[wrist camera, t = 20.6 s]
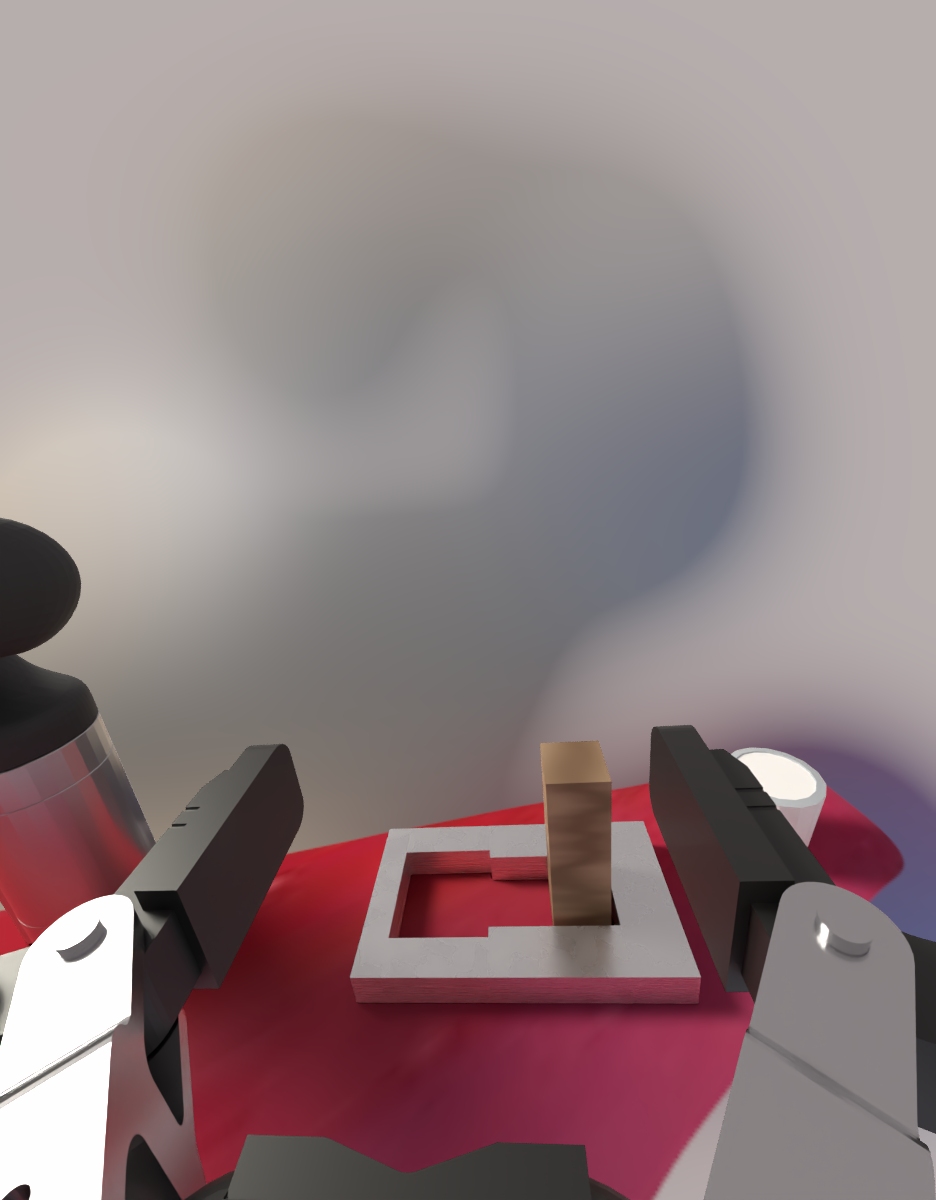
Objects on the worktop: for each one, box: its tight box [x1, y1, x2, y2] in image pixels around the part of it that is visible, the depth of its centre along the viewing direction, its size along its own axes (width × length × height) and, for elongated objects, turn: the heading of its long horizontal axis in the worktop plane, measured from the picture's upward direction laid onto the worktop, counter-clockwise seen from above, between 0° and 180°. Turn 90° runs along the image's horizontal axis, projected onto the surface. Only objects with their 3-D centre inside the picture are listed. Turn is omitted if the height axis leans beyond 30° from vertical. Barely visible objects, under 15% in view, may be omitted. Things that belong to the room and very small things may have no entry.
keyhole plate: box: [350, 821, 701, 1004], centre depth 35 cm, size 22×12×2 cm, turn 86°
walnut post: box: [540, 741, 611, 926], centre depth 33 cm, size 4×4×14 cm
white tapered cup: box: [731, 748, 826, 847], centre depth 38 cm, size 7×7×7 cm
